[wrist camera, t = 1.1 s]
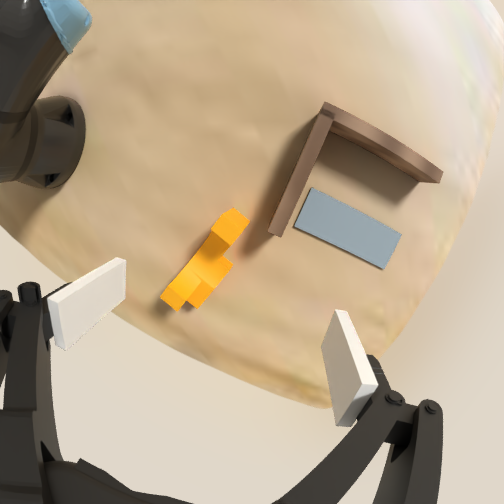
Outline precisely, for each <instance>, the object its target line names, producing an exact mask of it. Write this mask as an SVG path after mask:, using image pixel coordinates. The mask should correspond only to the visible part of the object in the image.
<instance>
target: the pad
mask: <svg viewBox="0 0 504 504" xmlns="http://www.w3.org/2000/svg"><path fill="white" fill-rule="evenodd" d="M294 226H295V227H297V228H299V229H301V230H303V231H306V232H308V233H310V234H312V235H314V236H316V237H319V238H321V239H323V240H325V241H327V242H329V243H331V244H333V245H336V246H338V247H340V248H342V249H344V250H346V251H348V252H350V253H352V254H354V255H356V256H358V257H360V258H362V259H364V260H366V261H368V262H370V263H372V264H374V265H376V266H378V267H380V268H382V269H385V267H386V265H387V263H388V261H389V259H390V257H391V255H392V253H393V251H394V249H395V247H396V245H397V243H398V241H399V239H400V237H401V235H402V234H400V233H398V232H396V231H395V230H393V229H391V228H389V227H387V226H386V225H384V224H382V223H380V222H378V221H377V220H375V219H373V218H371V217H369V216H367V215H366V214H364V213H362V212H360V211H358V210H356V209H354V208H352V207H350V206H348V205H346V204H344V203H342V202H340V201H338V200H336V199H334V198H332V197H330V196H328V195H326V194H324V193H322V192H320V191H318V190H316V189H314V188H311V190H310V192H309V194H308V197H307V199H306V201H305V203H304V205H303V208H302V210H301V212H300V214H299V216H298V219H297V221H296V223H295V225H294Z"/></svg>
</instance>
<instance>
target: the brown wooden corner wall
mask: <svg viewBox="0 0 504 504" xmlns="http://www.w3.org/2000/svg"><path fill="white" fill-rule="evenodd" d="M328 131H331V132H333V133H335V134H337V135H339V136H341V137H343V138H345V139H347V140H349V141H351V142H353V143H355V144H357V145H359V146H361V147H362V148H364V149H366V150H368V151H370V152H371V153H373V154H375V155H377V156H379V157H380V158H382V159H384V160H385V161H387V162H389V163H390V164H392V165H394V166H395V167H397V168H399V169H400V170H402V171H403V172H405V173H407V174H408V175H410V176H411V177H413V178H414V179H416V180H417V181H419V182H426V183H440V180H441V177H442V175H443V171H442V170H440V169H439V168H437V167H436V166H435V165H433V164H432V163H431V162H429V161H428V160H426V159H425V158H424V157H422V156H421V155H419V154H418V153H416V152H415V151H413V150H412V149H410V148H409V147H407V146H406V145H404V144H402V143H401V142H399V141H398V140H396V139H394V138H393V137H391V136H389V135H388V134H386V133H384V132H383V131H381V130H379V129H378V128H376V127H374V126H372V125H370V124H369V123H367V122H365V121H363V120H361V119H359V118H357V117H356V116H354V115H352V114H350V113H348V112H346V111H344V110H342V109H340V108H338V107H336V106H333V105H331V104H329V103H327V102H324V104H323V106H322V108H321V110H320V111H319V113H318V115H317V118H316V120H315V122H314V125H313V127H312V129H311V131H310V134H309V136H308V138H307V140H306V143H305V145H304V147H303V150H302V152H301V154H300V156H299V159H298V161H297V163H296V165H295V168H294V170H293V172H292V174H291V177H290V179H289V181H288V183H287V186H286V188H285V190H284V193H283V195H282V197H281V199H280V202H279V204H278V206H277V208H276V211H275V213H274V215H273V217H272V220H271V222H270V224H269V228H268V231H267V232H269V233H272V234H274V235H276V236H278V237H282V234H283V232H284V230H285V228H286V226H287V224H288V221H289V219H290V217H291V215H292V213H293V210H294V208H295V206H296V204H297V202H298V199H299V197H300V195H301V193H302V190H303V188H304V186H305V184H306V181H307V179H308V177H309V175H310V172H311V170H312V168H313V166H314V163H315V161H316V159H317V157H318V154H319V152H320V150H321V147H322V145H323V143H324V141H325V138H326V136H327V134H328Z"/></svg>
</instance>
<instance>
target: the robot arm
mask: <svg viewBox="0 0 504 504" xmlns="http://www.w3.org/2000/svg"><path fill="white" fill-rule="evenodd" d="M91 24H92V16H91V14H90V12H89V11H88V10H87V9H86V8H85V7H84V6H83V5H82V4H81V3H80V2H79V1H78V0H0V183H2V182H8V181H18V182H21V183H24V184H27V185H30V186H33V187H36V188H39V189H47V188H54V187H57V186H59V185H61V184H62V183H64V182H65V181H66V180H67V179H68V178H69V177H70V175H71V174H72V173H73V171H74V170H75V168H76V166H77V164H78V162H79V159H80V157H81V154H82V150H83V146H84V141H85V118H84V114H83V111H82V109H81V107H80V105H79V104H78V103H77V102H76V101H75V100H73V99H71V98H67V97H63V96H53V97H48V98H43V99H38V100H37V98H38V97H39V95H40V94H41V92H42V90H43V89H44V87H45V86H46V84H47V83H48V82H49V80H50V79H51V77H52V76H53V74H54V73H55V72H56V70H57V69H58V68H59V66H60V65H61V64H62V62H63V61H64V60H65V59H66V57H67V56H68V55H69V54H71V53H72V52H73V49H74V47H75V46H76V45H77V44H78V42H79V41H80V40H81V39H82V37H83V36H84V35H85V34H86V32H87V31H88V30H89V28H90V27H91ZM125 284H126V260H124V259H121V258H117V257H116V258H114V259H113V260H111V261H109V262H107V263H105V264H104V265H102V266H100V267H98V268H97V269H95V270H93V271H91V272H90V273H88V274H86V275H84V276H83V277H81V278H79V279H78V280H76V281H74V282H70V283H67V284H64V285H63V286H61V287H60V288H58V289H56V290H55V291H53V292H51V293H49V294H48V295H46V296H44V297H43V298H41V290H40V285H39V284H38V283H36V282H25V283H22V284H20V285H19V286H18V295H19V300H20V302H17V301H13V298H12V293H11V292H10V291H7V290H0V387H1V384H2V381H3V379H4V376H5V374H6V378H5V389H4V404H3V410H1V409H0V504H192V503H189V502H185V501H181V500H178V499H175V498H171V497H168V496H161V495H153V494H146V493H141V492H135V491H132V490H130V489H129V488H127V487H126V486H125V485H123V484H122V483H120V482H119V481H118V480H116V479H115V478H113V477H112V476H111V475H109V474H108V473H107V472H105V471H104V470H102V469H99V468H97V467H96V466H94V465H92V464H90V463H88V462H86V461H84V460H82V459H81V458H80V459H79V461H78V462H77V463H73V462H69V461H64V460H63V458H62V456H61V453H60V449H59V444H58V439H57V432H56V425H55V418H54V410H53V401H52V389H51V364H50V363H51V361H50V341H49V339H50V338H52V337H53V336H54V340H55V345H56V346H58V347H60V348H61V349H63V350H65V351H66V350H68V349H69V348H70V347H71V346H72V345H73V344H74V343H75V342H76V341H78V340H79V339H80V338H81V337H82V336H83V335H84V334H85V333H86V332H88V331H89V330H90V329H91V328H92V327H93V326H94V325H95V324H96V323H98V322H99V321H100V320H101V319H102V318H103V317H104V316H105V315H107V314H108V313H109V312H110V311H111V310H113V309H114V308H115V307H116V306H117V305H118V304H119V303H121V302H122V301H123V300H124V299H125ZM321 349H322V353H323V358H324V363H325V368H326V373H327V379H328V384H329V389H330V394H331V400H332V406H333V411H334V417H335V423H336V426H346V427H351V426H352V425H353V423H354V422H355V421H356V419H357V421H358V422H357V423H356V425H355V426H354V427H353V428H352V429H351V430H350V432H349V433H348V434H347V435H346V436H345V437H344V438H343V440H342V441H341V442H340V443H339V444H338V445H337V446H336V447H335V448H334V449H333V451H332V452H330V454H328V456H327V457H326V458H325V459H324V460H323V461H322V462H321V463H320V464H319V465H318V466H316V468H314V469H313V470H312V471H311V472H310V473H309V474H308V475H307V476H306V477H305V478H304V479H303V480H301V482H299V483H298V484H297V485H296V486H295V487H293V488H292V489H291V490H290V491H289V492H288V493H286V494H285V495H284V496H283V497H281V498H280V499H279V500H277V501H275V502H273V503H272V504H337V503H338V502H339V501H340V499H341V498H342V497H343V496H344V495H345V493H346V492H347V491H348V490H349V489H350V488H351V486H352V485H353V484H354V482H355V481H356V480H357V479H358V477H359V476H360V475H361V474H362V472H363V471H364V470H365V468H366V467H367V465H368V464H369V463H370V461H371V460H372V458H373V457H374V455H375V454H376V453H377V451H378V450H379V448H380V447H381V445H382V443H383V442H386V443H390V444H391V445H390V449H389V453H388V457H387V460H386V464H385V467H384V471H383V474H382V477H381V481H380V484H379V487H378V490H377V493H376V496H375V498H374V501H373V504H437V499H438V492H439V485H440V476H441V465H442V464H441V463H442V446H443V412H442V408H441V407H440V405H439V404H438V403H436V402H435V401H432V400H428V399H426V400H423V401H421V403H420V404H419V405H418V406H414V405H410V404H406V403H405V399H404V398H403V396H402V395H401V394H400V393H398V392H396V391H394V390H391V388H390V386H389V383H388V381H387V379H386V377H385V375H384V372H383V370H382V369H381V366H380V363H379V361H378V360H377V359H376V358H375V357H374V356H373V355H366V354H365V351H364V349H363V347H362V344H361V342H360V340H359V337H358V335H357V333H356V331H355V328H354V326H353V324H352V322H351V319H350V317H349V315H348V313H347V311H342V310H337V309H335V311H334V314H333V317H332V319H331V322H330V325H329V327H328V330H327V333H326V335H325V338H324V340H323V343H322V345H321Z"/></svg>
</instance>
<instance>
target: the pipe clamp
mask: <svg viewBox="0 0 504 504" xmlns="http://www.w3.org/2000/svg"><path fill="white" fill-rule="evenodd" d="M249 222H250V221H249V220H248V219H247V218H245V217H244V216H243V215H242V214H241V213H239V212H238V211H237V210H236V209H234V208H232V209H230V210H229V211H227V212H225V213H223V214H222V215H221V217H220V218H219V219H218V220H217V222H216V223H215V224H214V225H213V227H212V228H211V230H212V231H211V233H210V235H209V236H208V238H207V239H206V241H205V242H204V243H203V245H202V246H201V247H200V249H199V250H198V251H197V253H196V254H195V255H194V256H193V258H192V259H191V260H190V261H189V263H188V264H187V265H186V266H185V267H184V269H183V270H182V271H181V272H180V273H179V274H178V276H177V277H176V278H175V279H174V280H173V281H172V282H171V283H170V284H169V285H168V287H167V288H166V289H165V291H164V292H163V293H162V295H161V296H160V298H161V299H162V300H164V301H165V302H166V303H167V304H168V305H170V306H171V307H172V308H173V309H175V310H176V311H177V312H178V310H179V309H180V308H181V307H182V305H183V304H184V303H185V302H186V300H187V301H188V302H189V303H190V304H192V305H193V306H194V307H195V308H197V309H198V308H199V307H200V305H201V304H202V303H203V302H204V301H205V299H206V298H207V297H208V296H209V295H210V294H211V292H212V291H213V290H214V289H215V288H216V286H217V285H218V284H219V282H220V281H221V280H222V279H223V278H224V276H225V275H226V274H227V273H228V272H229V270H230V269H231V267H232V265H233V264H232V263H231V262H230V261H228V260H227V259H226V258H225V257H224V256H222V255H223V254H224V253H225V252H226V251H227V249H228V248H229V247H230V246H231V245H232V244H233V242H234V241H235V240H236V239H237V238H238V236H239V235H240V234H241V233H242V232H243V230H244V229H245V228H246V226H247V225H248V224H249Z"/></svg>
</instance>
